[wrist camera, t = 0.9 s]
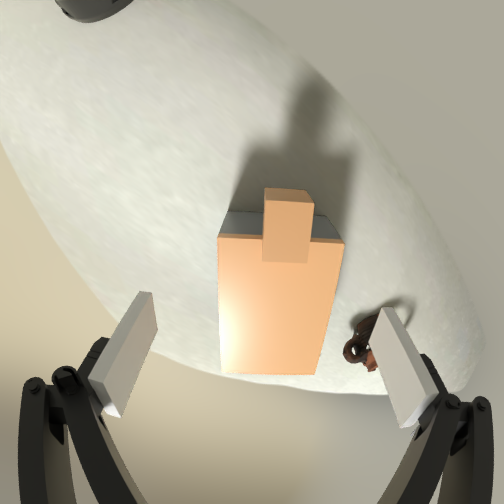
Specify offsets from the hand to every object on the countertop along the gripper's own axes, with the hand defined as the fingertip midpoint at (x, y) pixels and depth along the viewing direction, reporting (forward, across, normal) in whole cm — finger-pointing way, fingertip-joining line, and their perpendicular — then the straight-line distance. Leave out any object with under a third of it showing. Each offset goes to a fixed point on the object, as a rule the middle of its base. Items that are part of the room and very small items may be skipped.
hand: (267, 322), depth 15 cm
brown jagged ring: (+23, +20, -21) cm, 37 cm away
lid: (+16, +2, -8) cm, 18 cm away
